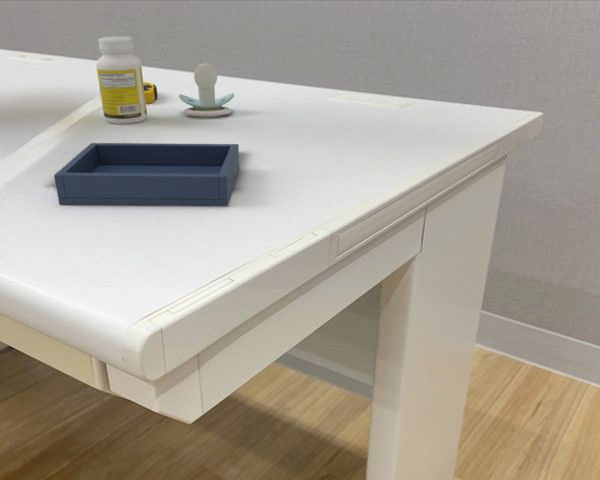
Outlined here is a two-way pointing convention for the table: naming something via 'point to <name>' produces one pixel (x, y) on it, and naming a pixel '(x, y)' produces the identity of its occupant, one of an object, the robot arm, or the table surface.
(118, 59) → the supplement bottle
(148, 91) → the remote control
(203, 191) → the tray
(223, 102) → the pacifier
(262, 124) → the table surface
